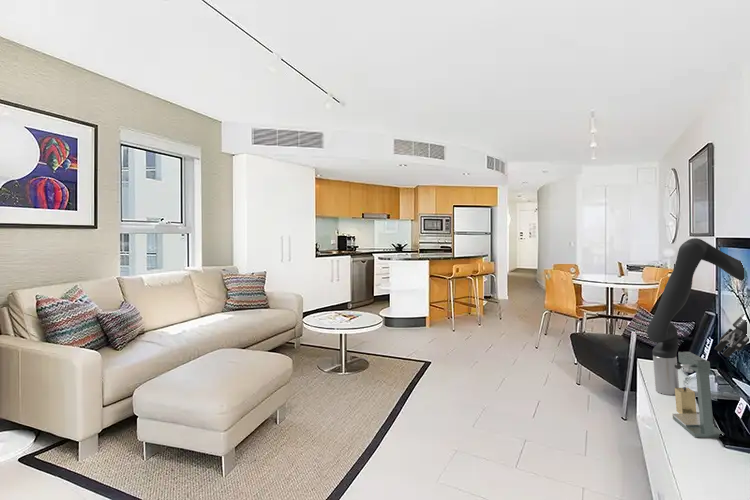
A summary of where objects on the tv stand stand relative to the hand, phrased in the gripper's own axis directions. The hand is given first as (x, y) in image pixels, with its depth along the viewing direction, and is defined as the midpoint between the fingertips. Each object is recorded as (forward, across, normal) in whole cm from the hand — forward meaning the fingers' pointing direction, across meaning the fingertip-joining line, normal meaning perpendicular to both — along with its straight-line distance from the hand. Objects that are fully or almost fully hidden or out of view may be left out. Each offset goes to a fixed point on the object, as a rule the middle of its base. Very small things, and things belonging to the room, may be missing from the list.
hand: (720, 353), depth 166 cm
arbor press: (+30, +14, +5) cm, 33 cm away
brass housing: (+28, +1, +6) cm, 29 cm away
